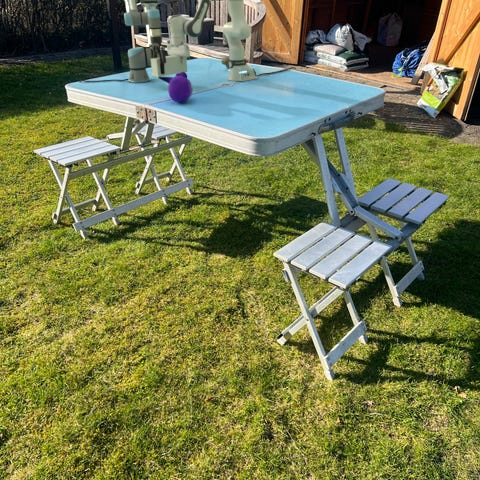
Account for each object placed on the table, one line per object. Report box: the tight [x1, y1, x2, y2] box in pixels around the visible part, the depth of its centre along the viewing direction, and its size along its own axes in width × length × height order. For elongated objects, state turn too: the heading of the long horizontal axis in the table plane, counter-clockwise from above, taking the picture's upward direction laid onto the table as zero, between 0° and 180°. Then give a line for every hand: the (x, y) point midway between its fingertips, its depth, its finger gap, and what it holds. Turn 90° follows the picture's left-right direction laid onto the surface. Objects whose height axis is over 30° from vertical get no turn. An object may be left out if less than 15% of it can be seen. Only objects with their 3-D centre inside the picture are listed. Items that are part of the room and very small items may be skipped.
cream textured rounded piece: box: [221, 54, 230, 71], centre depth 369 cm, size 21×12×15 cm, turn 120°
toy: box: [157, 72, 193, 103], centre depth 279 cm, size 16×18×27 cm
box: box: [150, 55, 188, 78], centre depth 306 cm, size 26×6×11 cm, turn 137°
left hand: (159, 73), depth 303 cm, fingers closed on box, 6 cm apart
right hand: (179, 63), depth 312 cm, fingers closed on box, 6 cm apart
